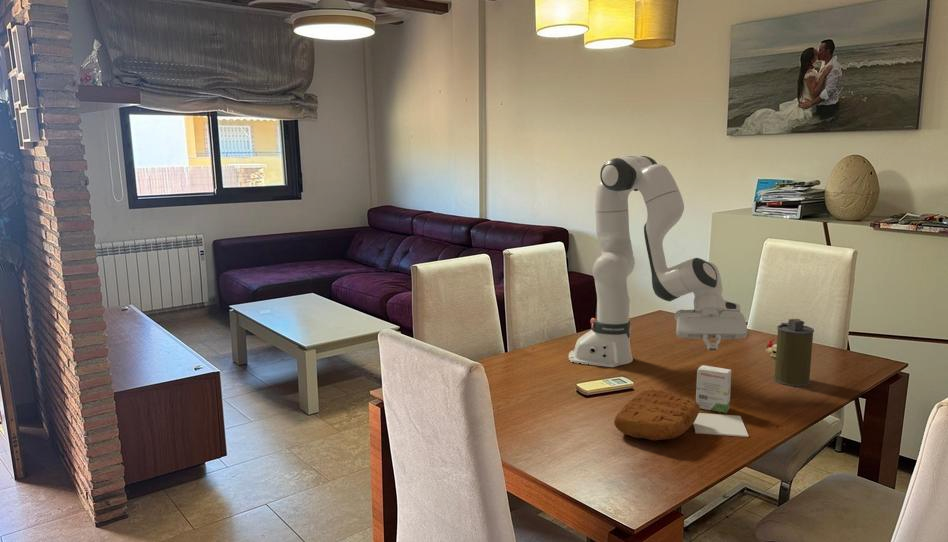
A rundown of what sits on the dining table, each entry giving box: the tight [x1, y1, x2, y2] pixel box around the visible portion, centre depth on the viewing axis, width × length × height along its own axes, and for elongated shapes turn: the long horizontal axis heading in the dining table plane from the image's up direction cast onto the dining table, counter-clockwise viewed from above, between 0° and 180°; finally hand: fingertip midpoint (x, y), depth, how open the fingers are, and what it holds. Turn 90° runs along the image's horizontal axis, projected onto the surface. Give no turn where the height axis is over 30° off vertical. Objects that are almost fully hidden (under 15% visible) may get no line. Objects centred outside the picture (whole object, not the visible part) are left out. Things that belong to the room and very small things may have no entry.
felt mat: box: [692, 412, 750, 438], centre depth 173 cm, size 13×13×1 cm
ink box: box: [695, 364, 732, 414], centre depth 183 cm, size 8×5×12 cm, turn 57°
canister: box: [773, 318, 815, 387], centre depth 203 cm, size 11×10×20 cm
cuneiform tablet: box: [613, 389, 701, 441], centre depth 169 cm, size 22×17×8 cm
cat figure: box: [765, 337, 777, 358], centre depth 234 cm, size 10×9×25 cm
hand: (712, 349), depth 192 cm, fingers closed
